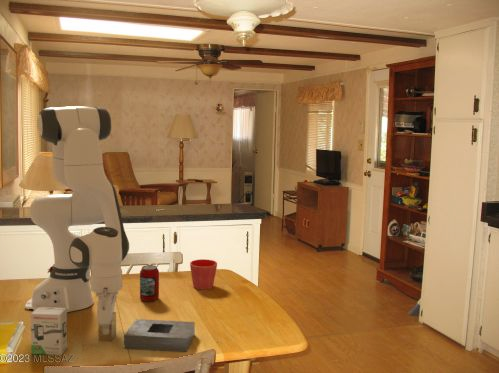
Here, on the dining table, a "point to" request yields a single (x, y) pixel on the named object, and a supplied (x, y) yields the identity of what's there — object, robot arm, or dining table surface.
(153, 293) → the beverage can
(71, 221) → the robot arm
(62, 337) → the ink box
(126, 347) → the jig
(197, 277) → the flower pot
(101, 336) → the tilted wooden brick
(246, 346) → the dining table surface
